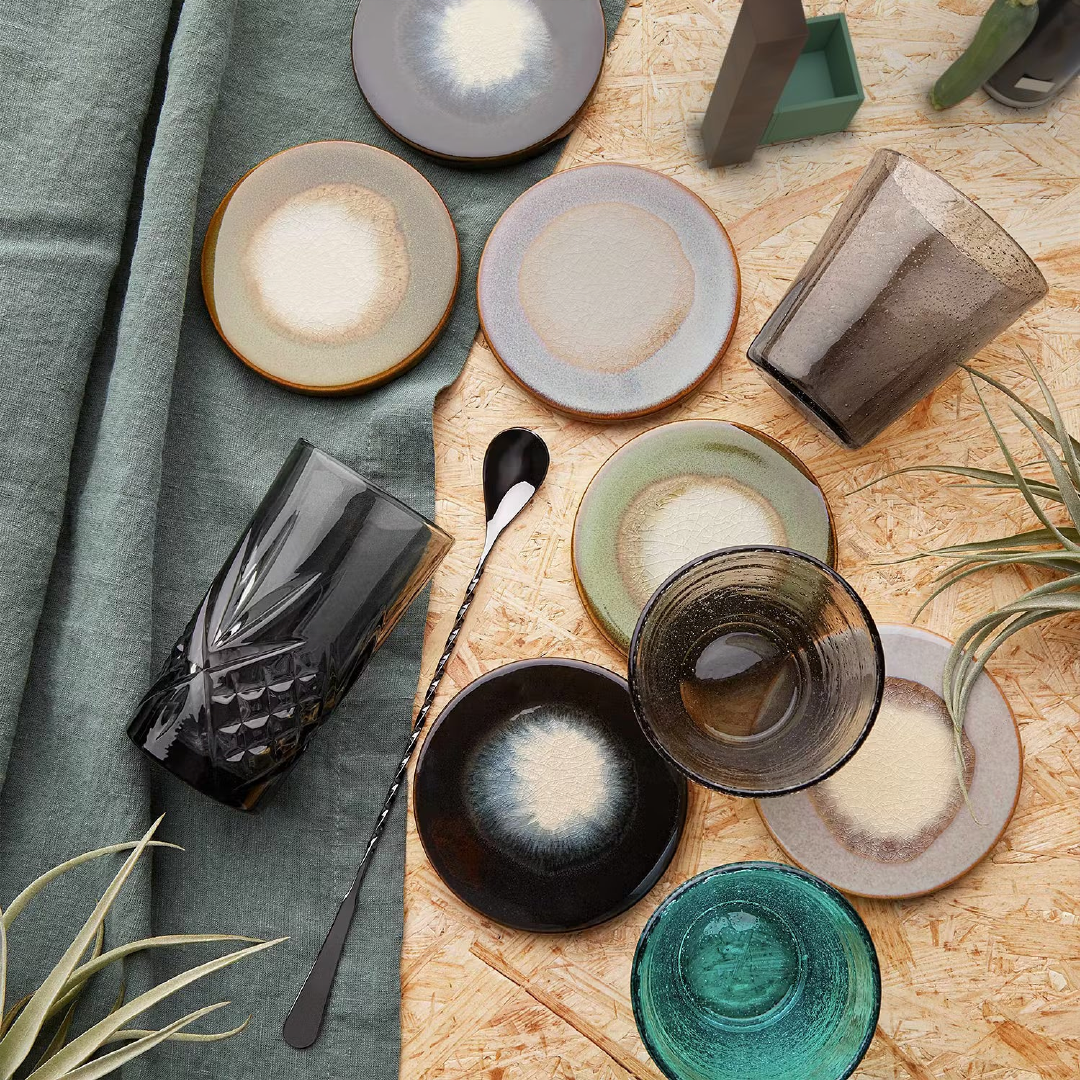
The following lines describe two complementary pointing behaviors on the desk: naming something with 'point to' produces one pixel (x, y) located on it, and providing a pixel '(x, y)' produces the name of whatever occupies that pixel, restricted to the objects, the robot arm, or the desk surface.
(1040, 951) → the desk surface
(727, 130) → the stand
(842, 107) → the sage bin
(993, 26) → the vegetable
